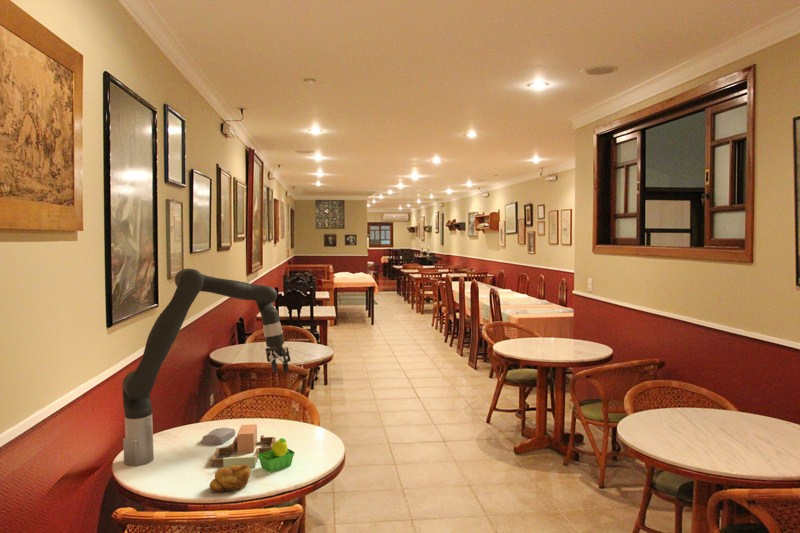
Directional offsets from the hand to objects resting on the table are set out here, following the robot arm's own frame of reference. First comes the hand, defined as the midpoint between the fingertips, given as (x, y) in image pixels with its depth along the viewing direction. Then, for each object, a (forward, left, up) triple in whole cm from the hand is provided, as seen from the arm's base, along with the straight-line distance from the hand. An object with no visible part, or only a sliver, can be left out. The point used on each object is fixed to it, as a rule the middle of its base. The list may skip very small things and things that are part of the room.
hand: (281, 372), depth 237 cm
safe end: (-35, -6, -26) cm, 45 cm away
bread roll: (-49, -13, -27) cm, 57 cm away
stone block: (-15, +21, -27) cm, 37 cm away
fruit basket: (-30, -19, -27) cm, 44 cm away
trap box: (-24, 0, -26) cm, 35 cm away
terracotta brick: (-18, +4, -27) cm, 32 cm away
